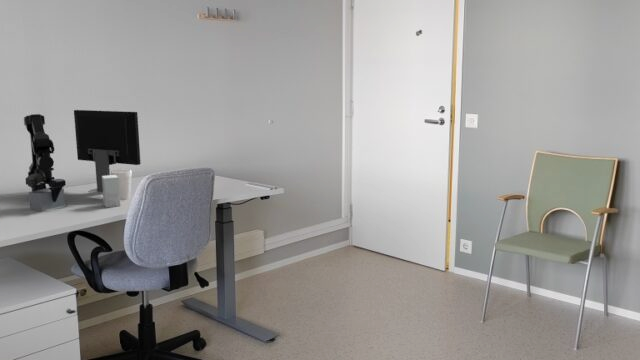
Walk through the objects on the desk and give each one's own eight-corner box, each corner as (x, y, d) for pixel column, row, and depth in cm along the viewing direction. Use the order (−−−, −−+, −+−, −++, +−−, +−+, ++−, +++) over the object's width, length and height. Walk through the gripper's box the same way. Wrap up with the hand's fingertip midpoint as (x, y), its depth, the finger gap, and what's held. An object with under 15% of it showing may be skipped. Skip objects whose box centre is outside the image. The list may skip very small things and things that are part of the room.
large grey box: (30, 209, 265) (28, 192, 264) (53, 204, 276) (51, 187, 274) (42, 211, 262) (40, 193, 260) (65, 205, 272) (63, 188, 271)
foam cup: (126, 200, 282) (124, 173, 279) (108, 200, 284) (106, 172, 281) (136, 196, 291) (135, 169, 289) (119, 195, 293) (117, 169, 290)
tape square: (30, 209, 266) (30, 208, 266) (49, 204, 275) (49, 204, 275) (46, 211, 262) (46, 210, 262) (65, 206, 271) (65, 206, 271)
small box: (120, 206, 271) (118, 177, 269) (105, 207, 268) (103, 178, 266) (118, 202, 278) (116, 174, 276) (103, 204, 275) (101, 175, 273)
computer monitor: (145, 193, 297) (140, 111, 290) (133, 196, 290) (127, 112, 283) (86, 186, 316) (80, 109, 309) (73, 189, 309) (66, 110, 301)
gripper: (13, 167, 262) (16, 202, 265) (43, 170, 254) (46, 206, 257) (35, 163, 272) (38, 197, 275) (65, 166, 264) (68, 201, 267)
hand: (47, 201), depth 268 cm, fingers open, 9 cm apart
